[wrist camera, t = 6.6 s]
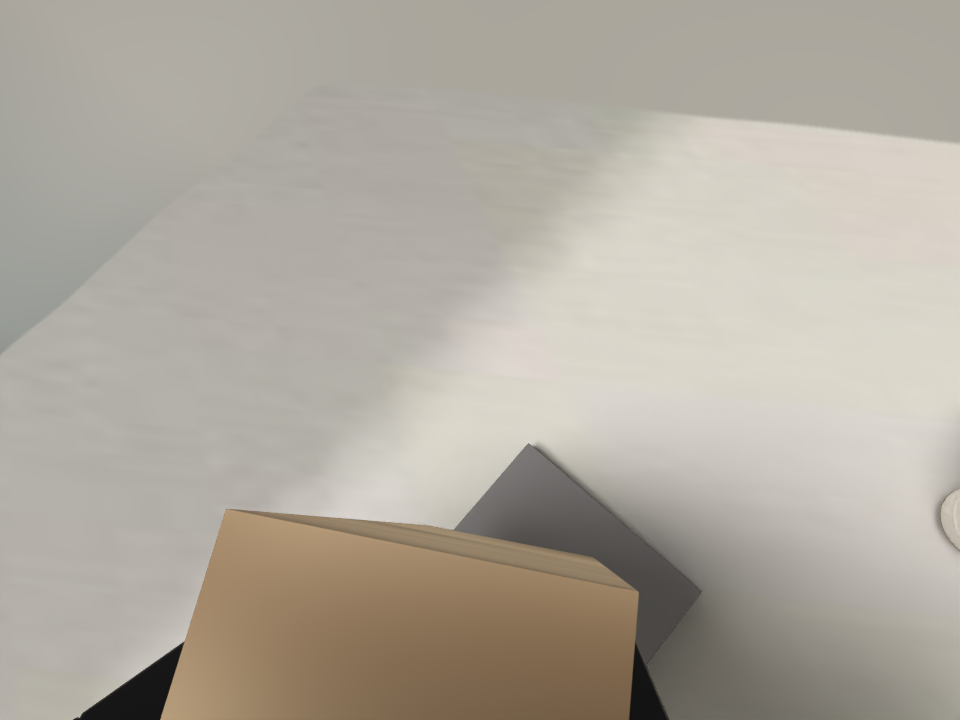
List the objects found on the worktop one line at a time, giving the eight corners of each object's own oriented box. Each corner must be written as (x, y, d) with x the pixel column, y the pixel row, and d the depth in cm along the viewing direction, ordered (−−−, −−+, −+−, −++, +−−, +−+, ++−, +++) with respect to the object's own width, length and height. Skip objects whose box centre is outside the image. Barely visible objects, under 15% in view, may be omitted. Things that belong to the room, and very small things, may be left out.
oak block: (571, 760, 13) (585, 1289, 4) (390, 711, 14) (60, 1038, 5) (593, 557, 15) (639, 592, 5) (427, 525, 16) (226, 509, 6)
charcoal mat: (480, 870, 17) (475, 890, 16) (329, 680, 20) (318, 688, 19) (695, 588, 19) (702, 591, 18) (530, 446, 22) (528, 443, 21)
